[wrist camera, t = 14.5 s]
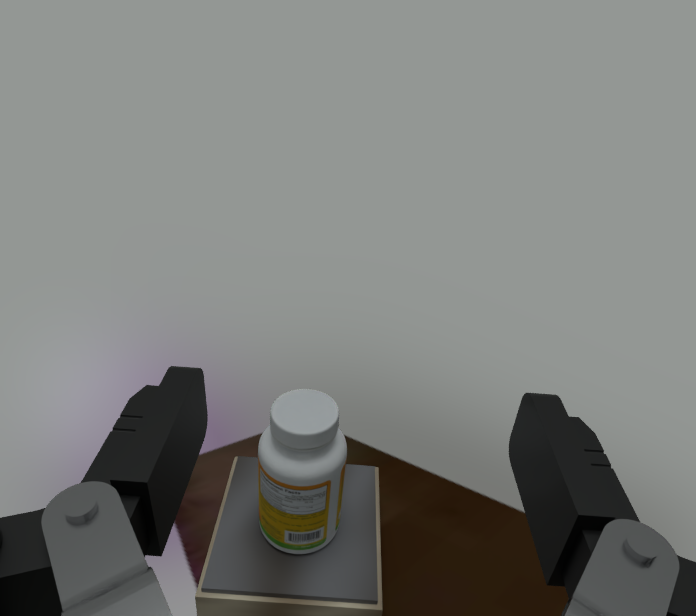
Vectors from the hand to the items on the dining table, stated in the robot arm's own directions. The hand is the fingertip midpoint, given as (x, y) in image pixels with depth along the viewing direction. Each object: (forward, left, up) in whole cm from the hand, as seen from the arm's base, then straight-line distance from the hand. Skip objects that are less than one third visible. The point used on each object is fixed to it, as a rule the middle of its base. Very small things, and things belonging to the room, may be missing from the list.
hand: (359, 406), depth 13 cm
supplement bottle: (+2, -13, -22) cm, 26 cm away
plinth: (+2, -13, -26) cm, 29 cm away
